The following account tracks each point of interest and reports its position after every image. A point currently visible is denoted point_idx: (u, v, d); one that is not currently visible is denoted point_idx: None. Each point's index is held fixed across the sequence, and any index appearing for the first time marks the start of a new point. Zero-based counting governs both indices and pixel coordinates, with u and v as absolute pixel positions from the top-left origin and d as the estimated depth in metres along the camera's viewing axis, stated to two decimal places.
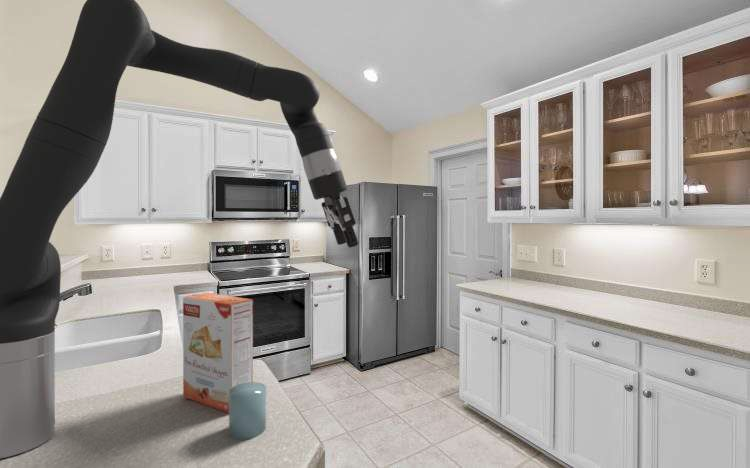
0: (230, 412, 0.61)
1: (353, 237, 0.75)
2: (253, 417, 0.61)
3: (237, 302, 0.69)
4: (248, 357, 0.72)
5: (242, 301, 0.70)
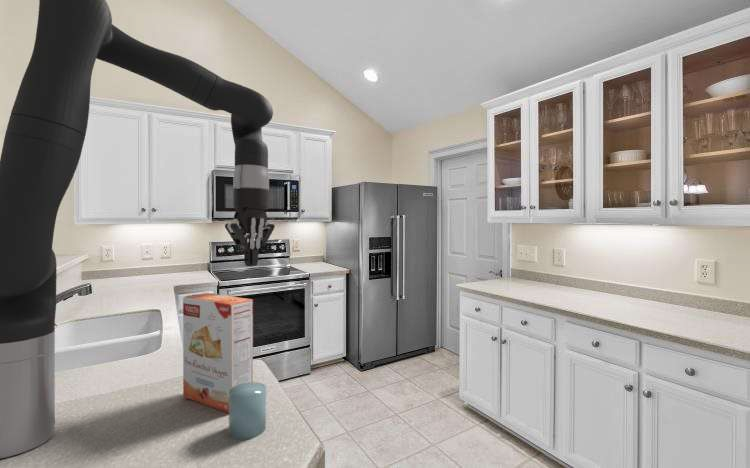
0: (230, 412, 0.61)
1: (247, 257, 0.80)
2: (253, 417, 0.61)
3: (237, 302, 0.69)
4: (248, 357, 0.72)
5: (242, 301, 0.70)
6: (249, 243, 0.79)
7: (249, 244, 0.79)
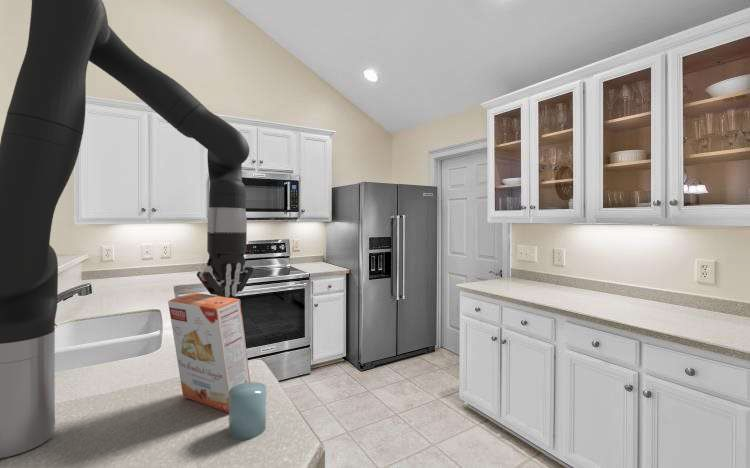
0: (230, 412, 0.61)
1: None
2: (253, 417, 0.61)
3: (223, 305, 0.67)
4: (242, 356, 0.70)
5: (228, 303, 0.68)
6: (224, 291, 0.74)
7: (224, 292, 0.74)
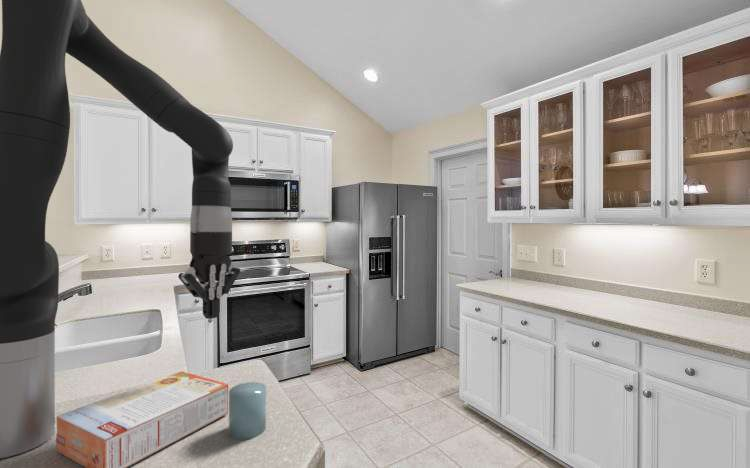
0: (230, 412, 0.61)
1: (206, 309, 0.71)
2: (253, 417, 0.61)
3: (103, 465, 0.50)
4: (182, 412, 0.59)
5: (103, 456, 0.50)
6: (208, 293, 0.70)
7: (208, 294, 0.70)
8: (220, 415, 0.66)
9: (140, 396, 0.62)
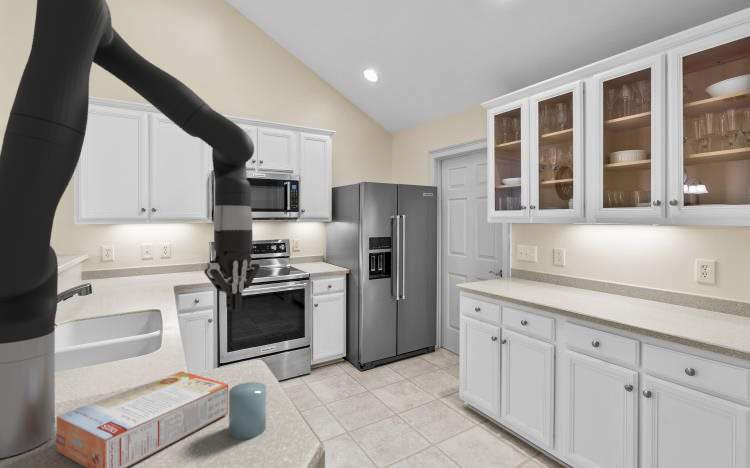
0: (230, 412, 0.61)
1: (229, 302, 0.75)
2: (253, 417, 0.61)
3: (103, 465, 0.50)
4: (182, 412, 0.59)
5: (103, 456, 0.50)
6: (231, 288, 0.75)
7: (231, 289, 0.75)
8: (220, 415, 0.66)
9: (140, 396, 0.62)
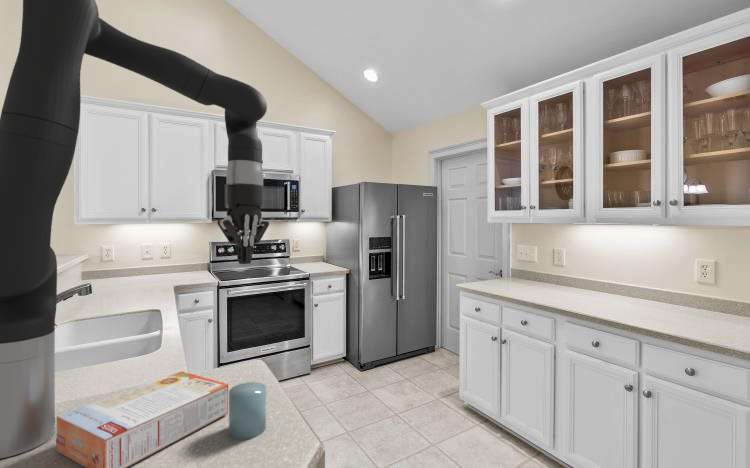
0: (230, 412, 0.61)
1: (240, 255, 0.78)
2: (253, 417, 0.61)
3: (103, 465, 0.50)
4: (182, 412, 0.59)
5: (103, 456, 0.50)
6: (242, 240, 0.78)
7: (242, 241, 0.78)
8: (220, 415, 0.66)
9: (140, 396, 0.62)
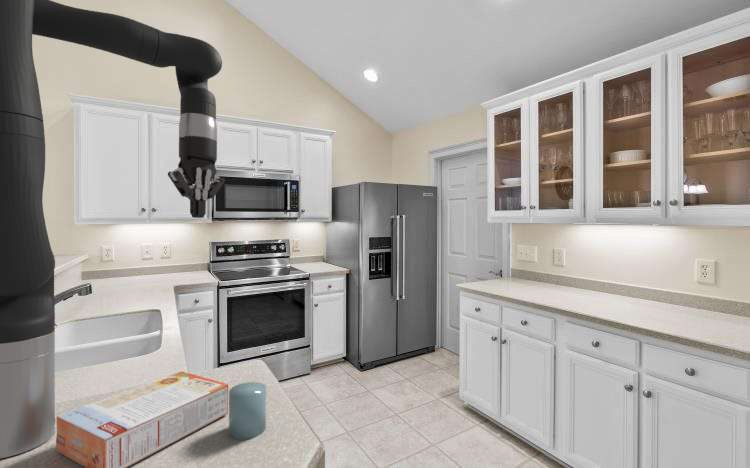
0: (230, 412, 0.61)
1: (193, 208, 0.79)
2: (253, 417, 0.61)
3: (103, 465, 0.50)
4: (182, 412, 0.59)
5: (103, 456, 0.50)
6: (194, 193, 0.78)
7: (194, 194, 0.78)
8: (220, 415, 0.66)
9: (140, 396, 0.62)
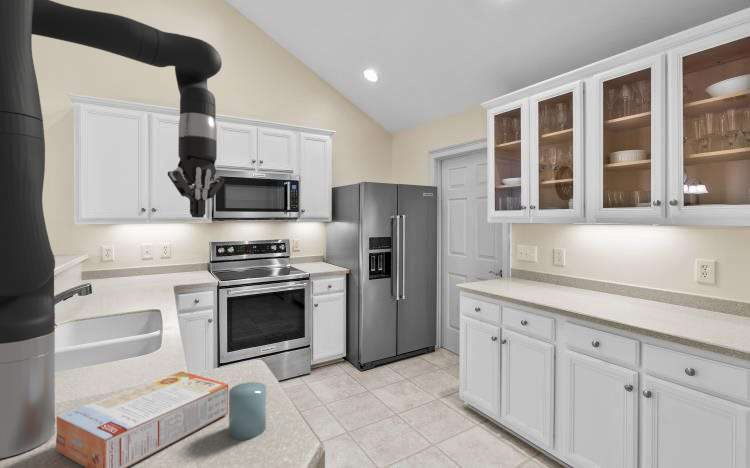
0: (230, 412, 0.61)
1: (192, 208, 0.79)
2: (253, 417, 0.61)
3: (103, 465, 0.50)
4: (182, 412, 0.59)
5: (103, 456, 0.50)
6: (194, 193, 0.78)
7: (194, 194, 0.78)
8: (220, 415, 0.66)
9: (140, 396, 0.62)
